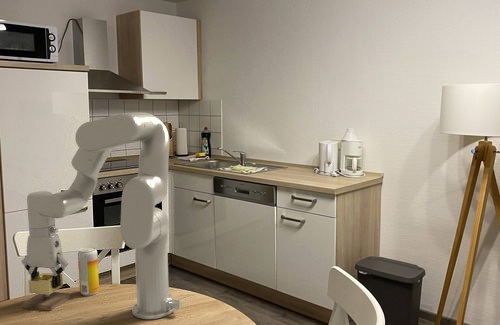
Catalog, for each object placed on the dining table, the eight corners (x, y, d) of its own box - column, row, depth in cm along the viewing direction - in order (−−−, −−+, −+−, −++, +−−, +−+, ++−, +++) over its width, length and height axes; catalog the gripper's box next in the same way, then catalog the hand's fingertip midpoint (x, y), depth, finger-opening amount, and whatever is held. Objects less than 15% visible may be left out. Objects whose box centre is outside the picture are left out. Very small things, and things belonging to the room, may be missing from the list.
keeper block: (70, 297, 155) (69, 276, 154) (51, 310, 145) (49, 288, 144) (43, 295, 157) (42, 274, 156) (22, 307, 147) (21, 286, 146)
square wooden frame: (62, 286, 153) (62, 274, 152) (49, 294, 146) (48, 282, 146) (43, 284, 154) (43, 272, 154) (29, 293, 148) (28, 280, 147)
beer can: (102, 289, 161) (99, 246, 159) (94, 296, 155) (92, 252, 153) (85, 289, 162) (82, 246, 160) (76, 296, 156) (74, 251, 154)
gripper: (74, 229, 150) (77, 283, 152) (26, 227, 154) (30, 280, 156) (59, 235, 142) (63, 292, 145) (9, 233, 146) (14, 288, 148)
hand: (46, 285), depth 150 cm, fingers closed on square wooden frame, 6 cm apart
